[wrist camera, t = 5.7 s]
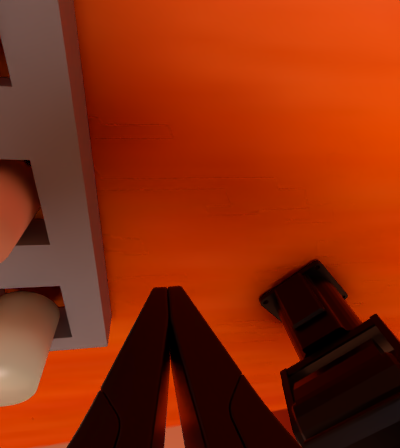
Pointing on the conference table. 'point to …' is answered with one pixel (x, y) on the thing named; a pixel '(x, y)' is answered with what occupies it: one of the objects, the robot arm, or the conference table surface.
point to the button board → (54, 168)
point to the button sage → (24, 343)
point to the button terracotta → (15, 202)
